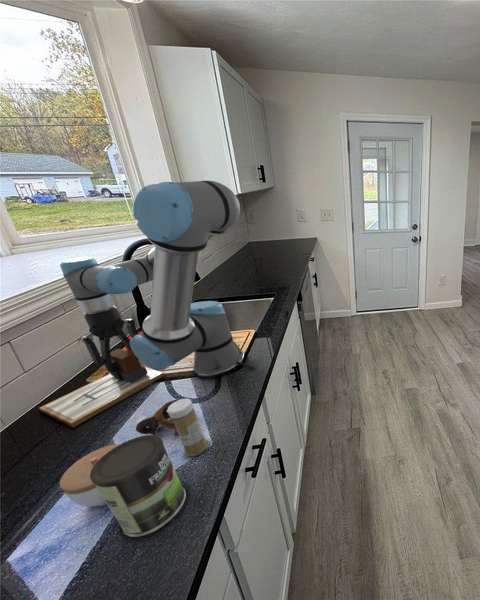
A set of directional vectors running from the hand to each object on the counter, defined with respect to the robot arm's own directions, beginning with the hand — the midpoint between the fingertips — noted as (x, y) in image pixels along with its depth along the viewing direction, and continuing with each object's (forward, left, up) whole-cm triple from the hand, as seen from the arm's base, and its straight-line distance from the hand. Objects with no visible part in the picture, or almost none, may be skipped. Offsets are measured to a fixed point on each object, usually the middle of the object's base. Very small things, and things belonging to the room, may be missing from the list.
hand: (129, 373), depth 103 cm
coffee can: (-55, +25, -3) cm, 61 cm away
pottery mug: (-36, +10, -3) cm, 38 cm away
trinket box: (-42, +26, -2) cm, 50 cm away
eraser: (0, 0, 0) cm, 0 cm away
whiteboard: (0, +7, -2) cm, 7 cm away
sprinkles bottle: (-49, +12, -3) cm, 51 cm away
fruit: (+14, -12, -2) cm, 19 cm away
